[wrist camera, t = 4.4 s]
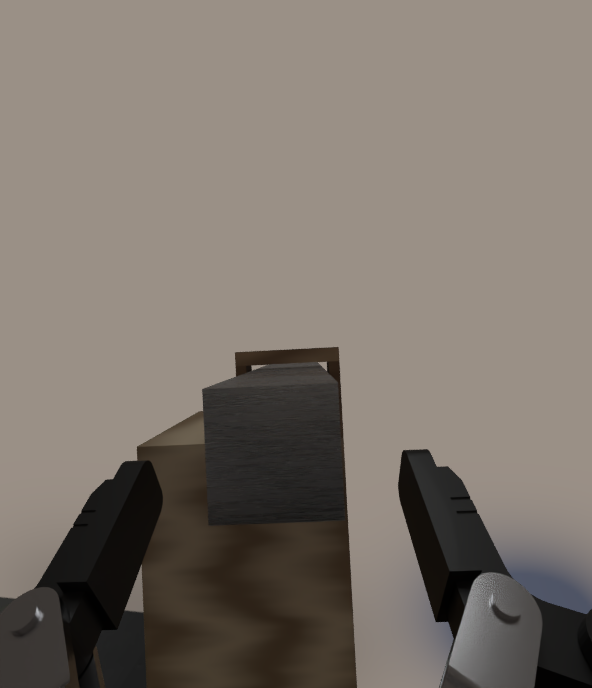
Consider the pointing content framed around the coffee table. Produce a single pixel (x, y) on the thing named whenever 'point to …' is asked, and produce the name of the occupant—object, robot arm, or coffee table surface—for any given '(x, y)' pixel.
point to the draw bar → (274, 447)
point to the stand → (243, 577)
